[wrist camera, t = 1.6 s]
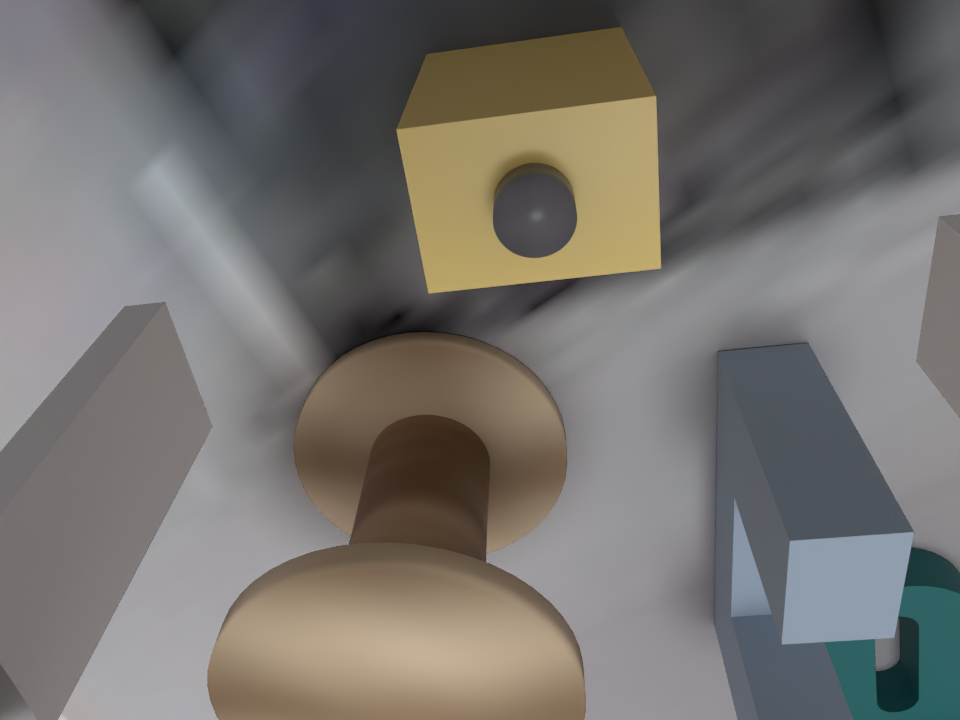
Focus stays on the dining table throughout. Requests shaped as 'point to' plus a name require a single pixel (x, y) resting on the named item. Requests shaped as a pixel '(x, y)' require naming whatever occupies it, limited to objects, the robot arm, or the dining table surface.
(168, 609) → the dining table surface
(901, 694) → the bracket
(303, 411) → the bobbin
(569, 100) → the yellow block
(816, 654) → the notch board
